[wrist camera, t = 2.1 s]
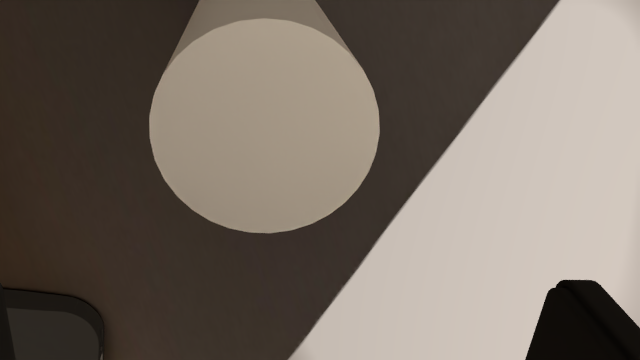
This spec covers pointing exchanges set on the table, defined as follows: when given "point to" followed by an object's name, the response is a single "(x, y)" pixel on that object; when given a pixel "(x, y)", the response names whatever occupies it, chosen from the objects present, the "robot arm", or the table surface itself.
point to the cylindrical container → (263, 116)
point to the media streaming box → (53, 327)
